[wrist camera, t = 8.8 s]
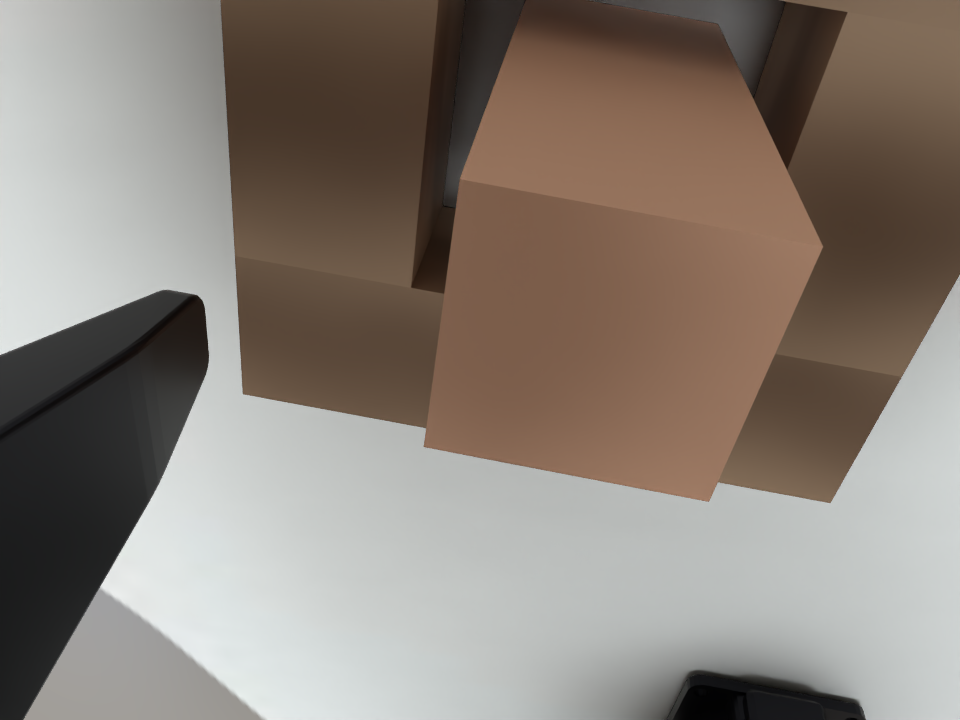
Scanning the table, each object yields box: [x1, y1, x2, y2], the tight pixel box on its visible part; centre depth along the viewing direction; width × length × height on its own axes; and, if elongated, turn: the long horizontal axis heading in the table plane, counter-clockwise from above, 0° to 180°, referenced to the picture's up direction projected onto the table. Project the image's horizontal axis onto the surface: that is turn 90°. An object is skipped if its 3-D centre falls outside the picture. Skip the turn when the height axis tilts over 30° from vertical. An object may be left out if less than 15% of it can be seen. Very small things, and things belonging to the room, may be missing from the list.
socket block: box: [221, 0, 960, 503], centre depth 16 cm, size 14×14×4 cm
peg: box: [424, 0, 823, 502], centre depth 14 cm, size 4×4×10 cm
